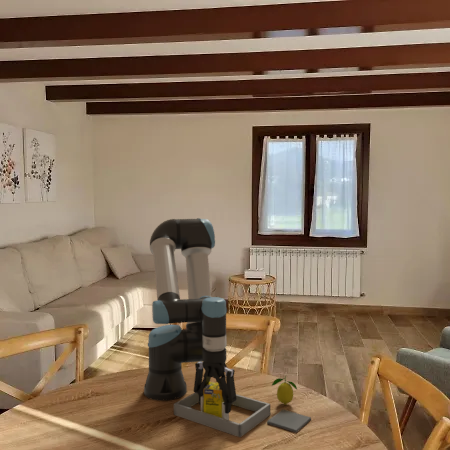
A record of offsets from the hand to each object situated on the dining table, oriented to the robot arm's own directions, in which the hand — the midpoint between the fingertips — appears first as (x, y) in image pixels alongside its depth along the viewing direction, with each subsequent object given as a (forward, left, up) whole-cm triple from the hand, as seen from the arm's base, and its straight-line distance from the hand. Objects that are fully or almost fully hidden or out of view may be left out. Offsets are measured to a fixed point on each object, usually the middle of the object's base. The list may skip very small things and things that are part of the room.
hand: (214, 418), depth 156 cm
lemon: (+13, +22, 0) cm, 26 cm away
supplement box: (0, 0, 0) cm, 0 cm away
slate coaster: (+20, +12, 0) cm, 23 cm away
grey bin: (0, +4, 0) cm, 4 cm away
